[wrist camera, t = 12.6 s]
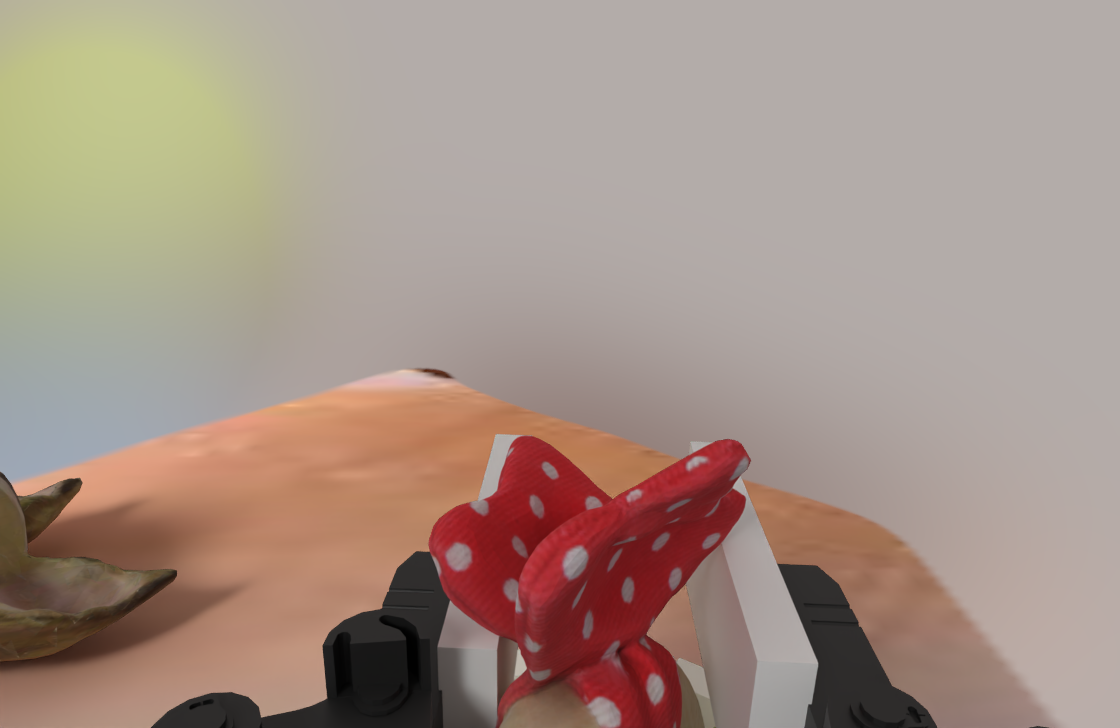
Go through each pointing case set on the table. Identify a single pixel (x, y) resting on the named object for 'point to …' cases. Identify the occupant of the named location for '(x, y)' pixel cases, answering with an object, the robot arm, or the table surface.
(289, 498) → the table surface
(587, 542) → the bird rattle
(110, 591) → the ceramic sculpture
